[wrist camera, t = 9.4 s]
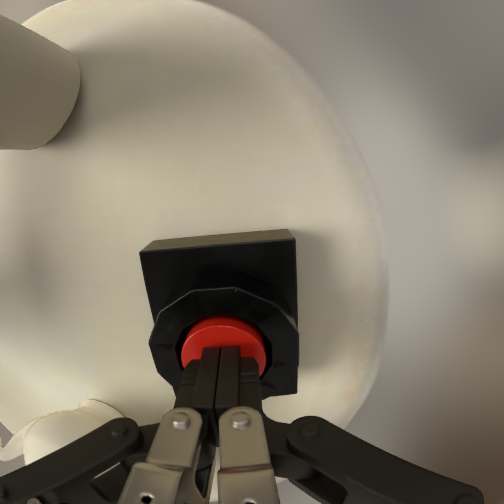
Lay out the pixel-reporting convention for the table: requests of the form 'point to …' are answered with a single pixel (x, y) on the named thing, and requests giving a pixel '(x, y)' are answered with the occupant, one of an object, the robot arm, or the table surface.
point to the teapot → (57, 431)
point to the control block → (225, 297)
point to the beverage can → (33, 87)
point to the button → (224, 338)
